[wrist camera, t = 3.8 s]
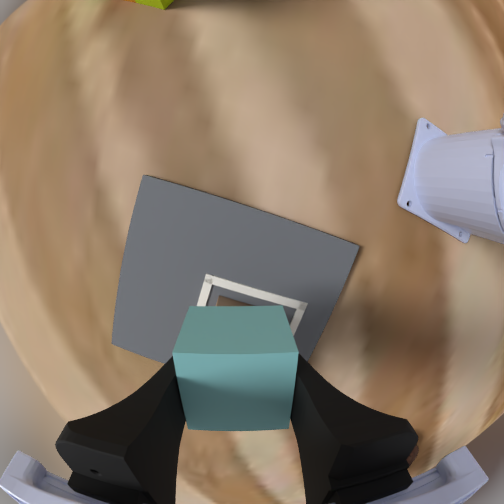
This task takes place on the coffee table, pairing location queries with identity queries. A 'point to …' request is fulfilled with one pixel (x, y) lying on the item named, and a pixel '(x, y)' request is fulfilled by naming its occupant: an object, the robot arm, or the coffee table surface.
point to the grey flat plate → (220, 267)
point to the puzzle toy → (154, 3)
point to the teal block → (236, 368)
